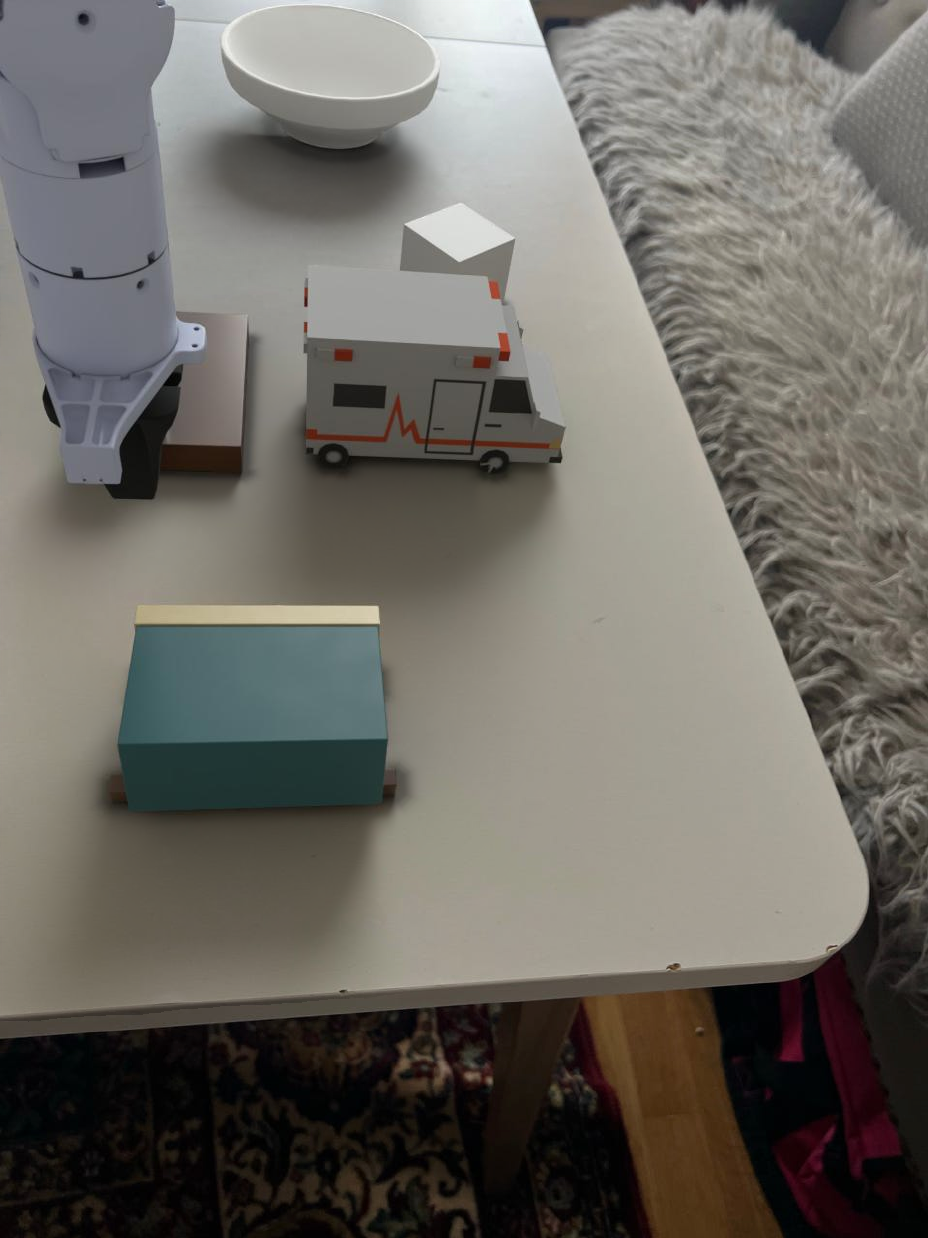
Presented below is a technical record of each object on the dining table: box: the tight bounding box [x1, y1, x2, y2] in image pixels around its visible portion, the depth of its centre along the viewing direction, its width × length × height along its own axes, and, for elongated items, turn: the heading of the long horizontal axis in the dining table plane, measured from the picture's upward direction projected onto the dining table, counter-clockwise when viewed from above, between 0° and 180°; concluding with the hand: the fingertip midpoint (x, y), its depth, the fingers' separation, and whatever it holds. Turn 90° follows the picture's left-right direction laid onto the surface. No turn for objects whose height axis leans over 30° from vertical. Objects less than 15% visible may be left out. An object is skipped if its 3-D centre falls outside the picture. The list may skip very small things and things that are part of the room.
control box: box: [160, 310, 250, 473], centre depth 67 cm, size 10×15×4 cm
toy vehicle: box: [302, 264, 567, 475], centre depth 66 cm, size 10×17×10 cm, turn 95°
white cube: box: [399, 202, 516, 305], centre depth 78 cm, size 6×6×6 cm
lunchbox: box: [116, 604, 389, 812], centre depth 50 cm, size 12×5×9 cm
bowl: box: [219, 3, 442, 150], centre depth 93 cm, size 20×20×7 cm
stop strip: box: [108, 768, 398, 803], centre depth 51 cm, size 14×1×1 cm, turn 96°
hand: (134, 489), depth 50 cm, fingers closed
